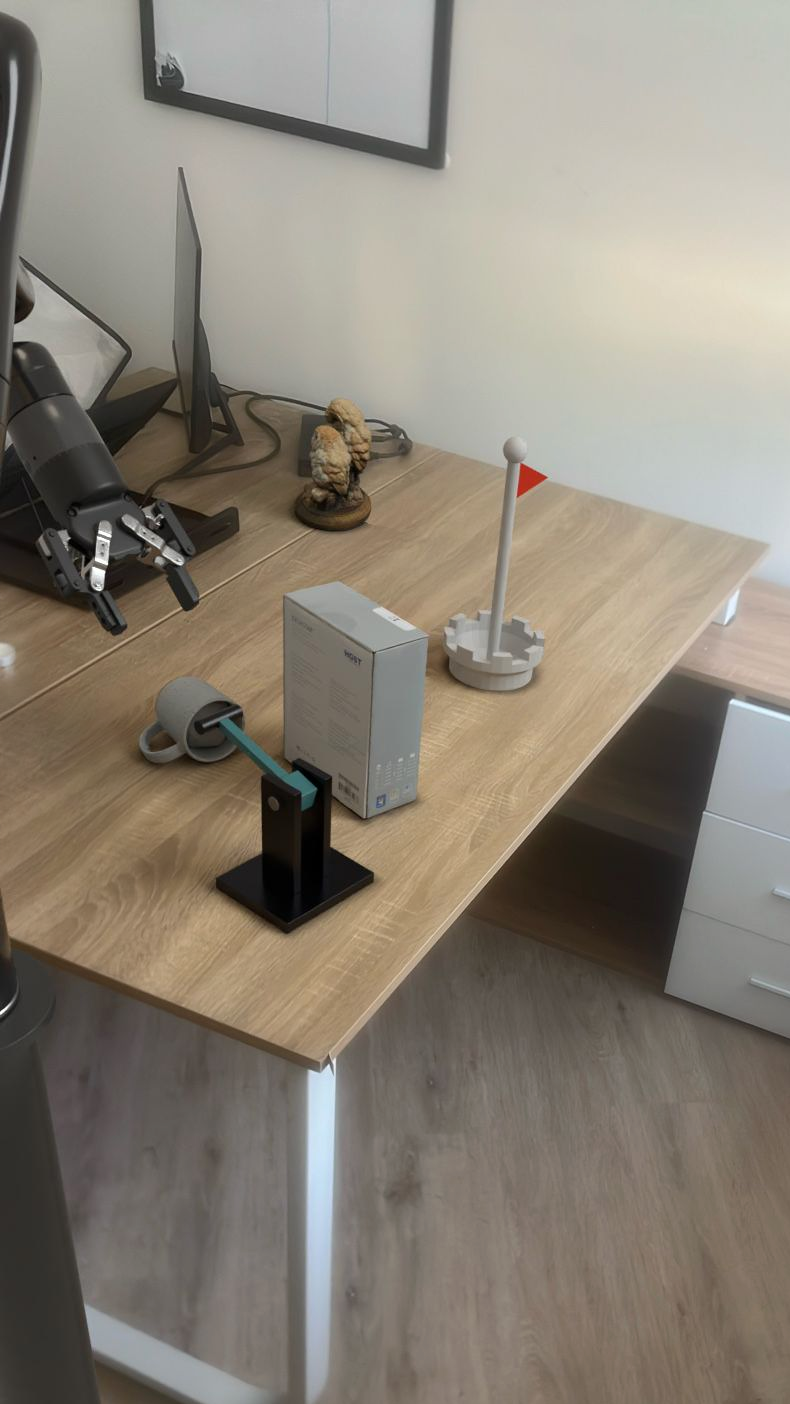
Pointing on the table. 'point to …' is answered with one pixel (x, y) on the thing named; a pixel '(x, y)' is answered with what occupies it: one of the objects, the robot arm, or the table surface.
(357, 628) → the hard drive box
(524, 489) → the flag stand
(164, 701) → the ceramic mug
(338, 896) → the switch bracket
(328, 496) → the owl figurine
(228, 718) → the switch lever
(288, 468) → the table surface
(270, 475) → the table surface
